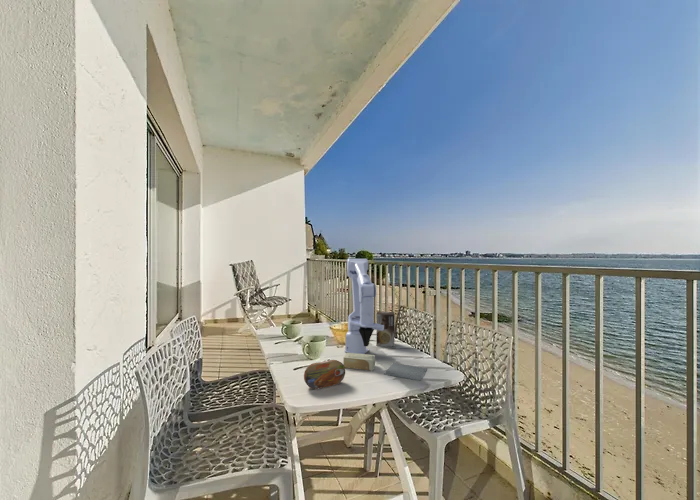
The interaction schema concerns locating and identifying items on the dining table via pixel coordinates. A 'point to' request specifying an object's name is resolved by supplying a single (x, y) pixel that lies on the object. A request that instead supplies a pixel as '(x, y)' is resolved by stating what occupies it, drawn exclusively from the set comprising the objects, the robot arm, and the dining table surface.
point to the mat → (406, 371)
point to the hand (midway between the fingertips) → (366, 345)
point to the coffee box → (385, 329)
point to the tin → (324, 374)
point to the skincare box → (359, 361)
